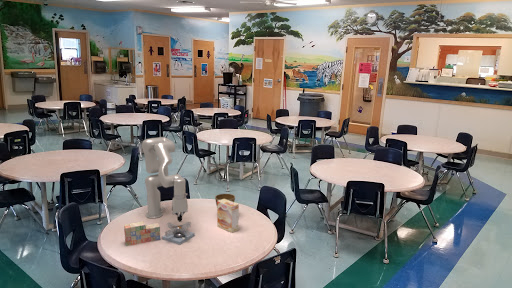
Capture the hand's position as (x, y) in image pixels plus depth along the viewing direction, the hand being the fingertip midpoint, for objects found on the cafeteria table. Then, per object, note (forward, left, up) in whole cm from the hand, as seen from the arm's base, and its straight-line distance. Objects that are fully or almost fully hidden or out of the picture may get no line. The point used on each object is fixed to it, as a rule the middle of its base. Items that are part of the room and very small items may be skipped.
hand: (179, 221), depth 251 cm
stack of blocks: (+22, -12, -9) cm, 27 cm away
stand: (+7, +4, -8) cm, 12 cm away
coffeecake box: (-22, +24, -8) cm, 34 cm away
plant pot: (-38, +11, -8) cm, 41 cm away
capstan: (+7, +4, -6) cm, 10 cm away
